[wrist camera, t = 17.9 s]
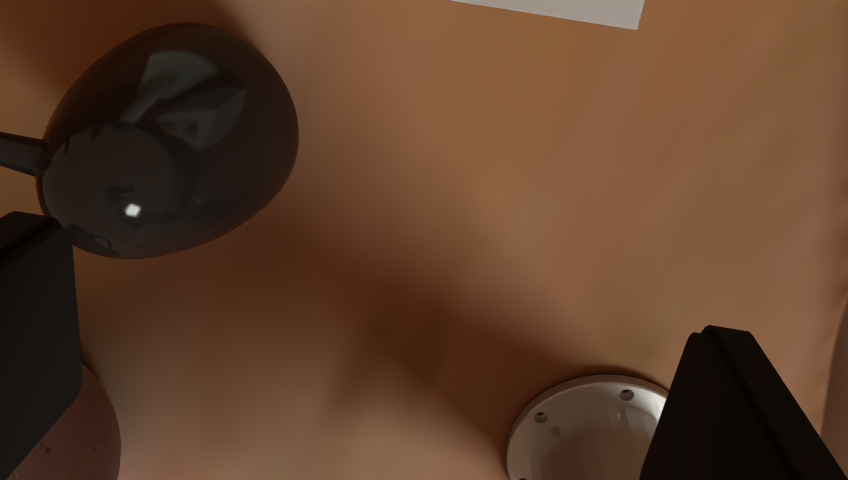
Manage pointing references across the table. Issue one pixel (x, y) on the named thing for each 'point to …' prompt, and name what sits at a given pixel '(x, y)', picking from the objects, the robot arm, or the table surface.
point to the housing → (576, 10)
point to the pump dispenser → (162, 143)
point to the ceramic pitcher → (78, 440)
